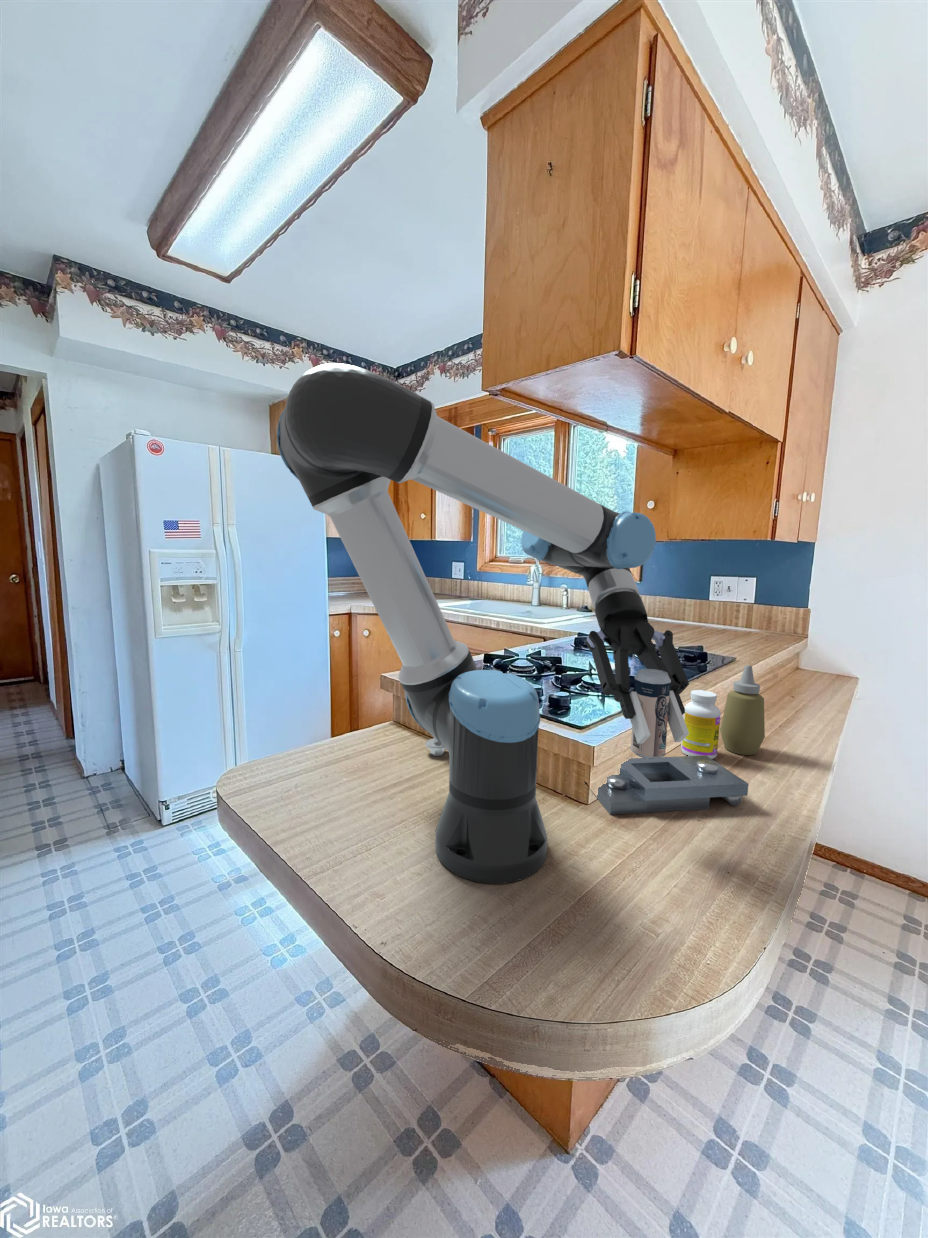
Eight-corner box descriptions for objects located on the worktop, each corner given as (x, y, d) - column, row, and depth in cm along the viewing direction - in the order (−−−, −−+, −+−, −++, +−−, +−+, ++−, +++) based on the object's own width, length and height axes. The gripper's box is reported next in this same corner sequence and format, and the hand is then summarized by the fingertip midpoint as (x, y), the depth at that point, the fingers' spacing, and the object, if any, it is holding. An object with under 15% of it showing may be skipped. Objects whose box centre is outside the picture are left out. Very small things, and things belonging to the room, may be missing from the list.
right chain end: (643, 812, 76) (645, 782, 75) (613, 780, 87) (615, 753, 86) (746, 807, 78) (749, 777, 77) (704, 776, 89) (706, 750, 88)
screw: (435, 760, 94) (420, 752, 97) (454, 754, 97) (439, 746, 100) (435, 695, 92) (420, 689, 96) (455, 691, 95) (440, 685, 99)
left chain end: (610, 814, 75) (611, 796, 75) (583, 781, 86) (584, 765, 86) (708, 809, 77) (710, 791, 77) (671, 777, 88) (672, 762, 88)
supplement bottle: (717, 763, 94) (723, 699, 93) (680, 757, 97) (685, 695, 96) (716, 751, 100) (721, 691, 99) (681, 745, 103) (685, 686, 102)
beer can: (666, 763, 66) (672, 678, 65) (629, 757, 68) (634, 674, 66) (665, 750, 71) (670, 669, 69) (630, 745, 72) (635, 666, 71)
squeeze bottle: (751, 744, 105) (759, 662, 102) (770, 759, 97) (780, 671, 94) (712, 741, 106) (719, 661, 103) (728, 757, 98) (736, 670, 95)
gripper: (659, 617, 83) (710, 747, 69) (558, 617, 81) (591, 752, 67) (678, 588, 77) (739, 724, 63) (570, 588, 75) (608, 729, 61)
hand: (662, 738), depth 65 cm, fingers closed on beer can, 5 cm apart
